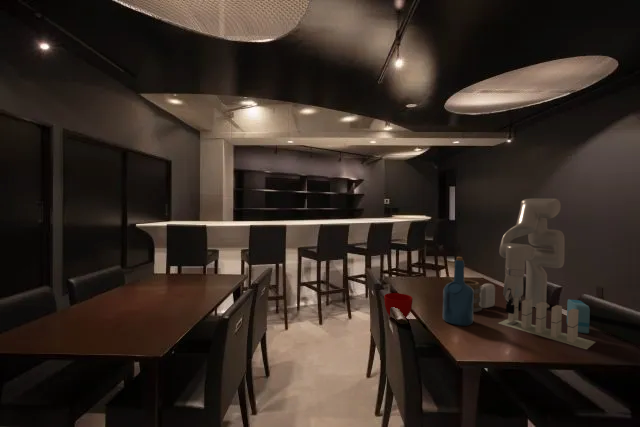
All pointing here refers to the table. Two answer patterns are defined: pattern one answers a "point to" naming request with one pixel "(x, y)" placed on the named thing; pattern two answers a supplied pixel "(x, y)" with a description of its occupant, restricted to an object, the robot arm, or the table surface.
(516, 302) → the domino
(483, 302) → the photo printer
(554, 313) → the domino
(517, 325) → the domino mat
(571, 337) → the domino
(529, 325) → the domino
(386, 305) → the ceramic cup
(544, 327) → the domino
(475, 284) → the tankard
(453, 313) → the wine bottle
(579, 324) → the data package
